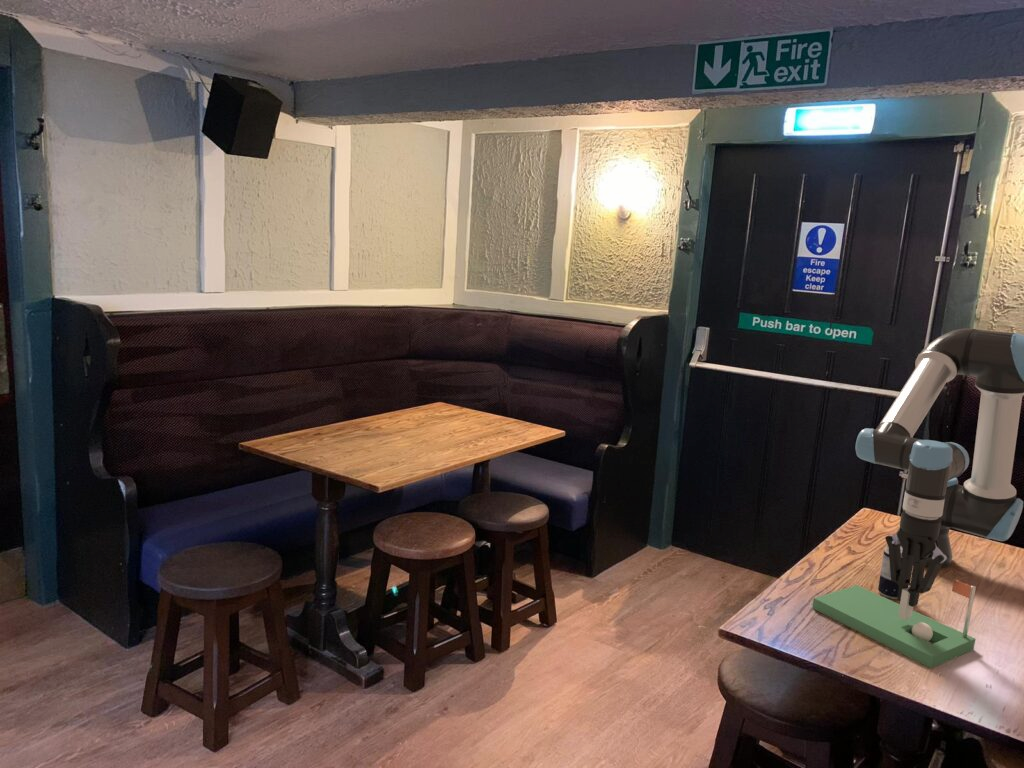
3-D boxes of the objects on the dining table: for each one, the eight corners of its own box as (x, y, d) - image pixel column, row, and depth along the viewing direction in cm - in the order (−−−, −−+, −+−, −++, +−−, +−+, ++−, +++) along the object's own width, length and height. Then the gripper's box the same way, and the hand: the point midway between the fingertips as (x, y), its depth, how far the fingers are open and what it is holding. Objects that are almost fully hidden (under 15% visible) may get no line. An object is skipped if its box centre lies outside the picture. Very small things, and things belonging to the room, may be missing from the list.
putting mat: (855, 594, 187) (856, 585, 187) (973, 649, 164) (975, 638, 163) (812, 608, 179) (813, 598, 178) (930, 668, 156) (932, 656, 155)
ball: (914, 623, 168) (929, 617, 165) (925, 641, 167) (940, 635, 164) (904, 628, 166) (919, 622, 163) (914, 646, 164) (930, 641, 161)
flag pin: (944, 638, 168) (955, 578, 165) (965, 648, 164) (976, 586, 162) (942, 639, 167) (953, 579, 165) (963, 649, 164) (974, 587, 161)
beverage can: (906, 602, 185) (913, 554, 183) (880, 598, 186) (888, 551, 184) (899, 591, 190) (907, 545, 188) (874, 588, 191) (881, 542, 189)
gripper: (882, 506, 167) (866, 607, 172) (942, 527, 156) (923, 634, 161) (903, 501, 171) (887, 601, 175) (962, 521, 160) (944, 627, 165)
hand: (904, 617), depth 168 cm, fingers closed
